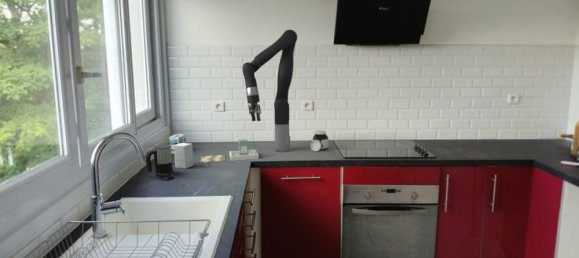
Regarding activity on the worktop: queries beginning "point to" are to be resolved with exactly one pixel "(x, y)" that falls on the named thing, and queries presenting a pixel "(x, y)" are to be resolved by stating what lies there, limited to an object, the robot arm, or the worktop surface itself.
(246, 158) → the tray
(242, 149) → the carton
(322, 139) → the spread jar
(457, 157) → the worktop surface
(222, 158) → the board
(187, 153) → the supplement box
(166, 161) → the milk frother
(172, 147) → the light bulb box
